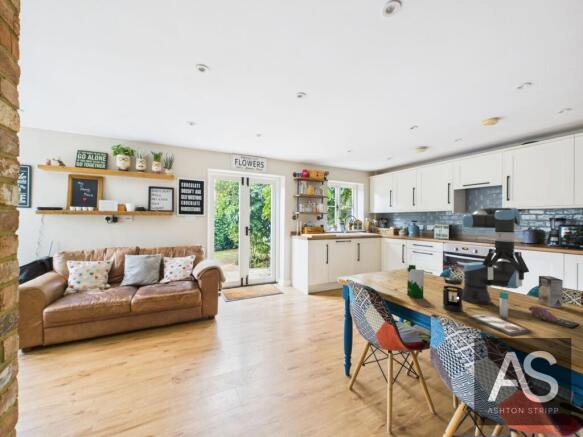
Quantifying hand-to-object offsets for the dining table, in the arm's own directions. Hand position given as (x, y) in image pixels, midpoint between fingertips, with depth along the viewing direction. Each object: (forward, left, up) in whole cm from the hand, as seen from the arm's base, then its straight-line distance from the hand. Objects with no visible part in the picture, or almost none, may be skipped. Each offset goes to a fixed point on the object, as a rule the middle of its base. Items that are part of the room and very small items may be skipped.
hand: (504, 282), depth 126 cm
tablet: (+5, -11, -18) cm, 22 cm away
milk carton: (-41, -18, -18) cm, 48 cm away
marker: (0, 0, -18) cm, 18 cm away
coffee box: (-10, +49, -18) cm, 53 cm away
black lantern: (-16, -15, -18) cm, 29 cm away
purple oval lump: (+4, +20, -18) cm, 27 cm away
